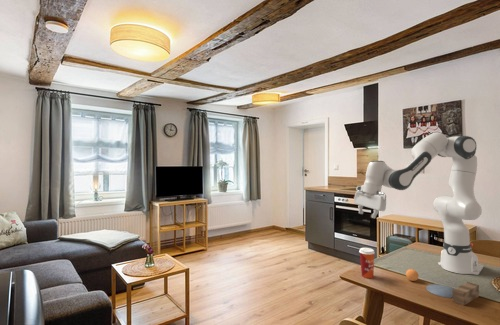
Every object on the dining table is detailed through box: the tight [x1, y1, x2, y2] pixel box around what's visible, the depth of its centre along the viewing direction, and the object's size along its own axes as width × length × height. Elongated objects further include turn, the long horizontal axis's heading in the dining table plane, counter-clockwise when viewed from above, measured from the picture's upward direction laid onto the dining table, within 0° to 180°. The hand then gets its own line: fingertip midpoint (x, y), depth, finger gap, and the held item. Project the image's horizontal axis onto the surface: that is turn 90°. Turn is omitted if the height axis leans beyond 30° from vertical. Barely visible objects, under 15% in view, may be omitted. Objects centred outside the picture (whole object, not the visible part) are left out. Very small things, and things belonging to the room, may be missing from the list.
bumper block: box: [452, 281, 480, 306], centre depth 122 cm, size 14×4×5 cm, turn 121°
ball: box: [405, 268, 419, 282], centre depth 142 cm, size 6×6×6 cm
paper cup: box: [358, 247, 376, 279], centre depth 148 cm, size 8×8×14 cm
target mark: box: [425, 283, 455, 299], centre depth 130 cm, size 13×13×1 cm
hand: (366, 215), depth 150 cm, fingers open, 8 cm apart
